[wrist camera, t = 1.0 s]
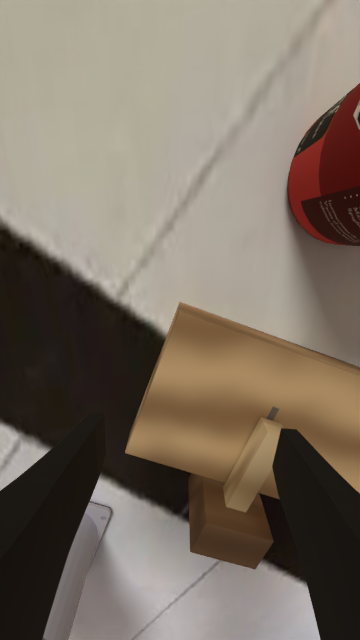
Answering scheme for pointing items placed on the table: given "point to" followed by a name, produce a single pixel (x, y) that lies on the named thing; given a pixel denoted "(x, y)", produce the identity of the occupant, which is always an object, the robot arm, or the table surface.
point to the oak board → (243, 399)
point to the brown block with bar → (235, 504)
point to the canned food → (329, 175)
